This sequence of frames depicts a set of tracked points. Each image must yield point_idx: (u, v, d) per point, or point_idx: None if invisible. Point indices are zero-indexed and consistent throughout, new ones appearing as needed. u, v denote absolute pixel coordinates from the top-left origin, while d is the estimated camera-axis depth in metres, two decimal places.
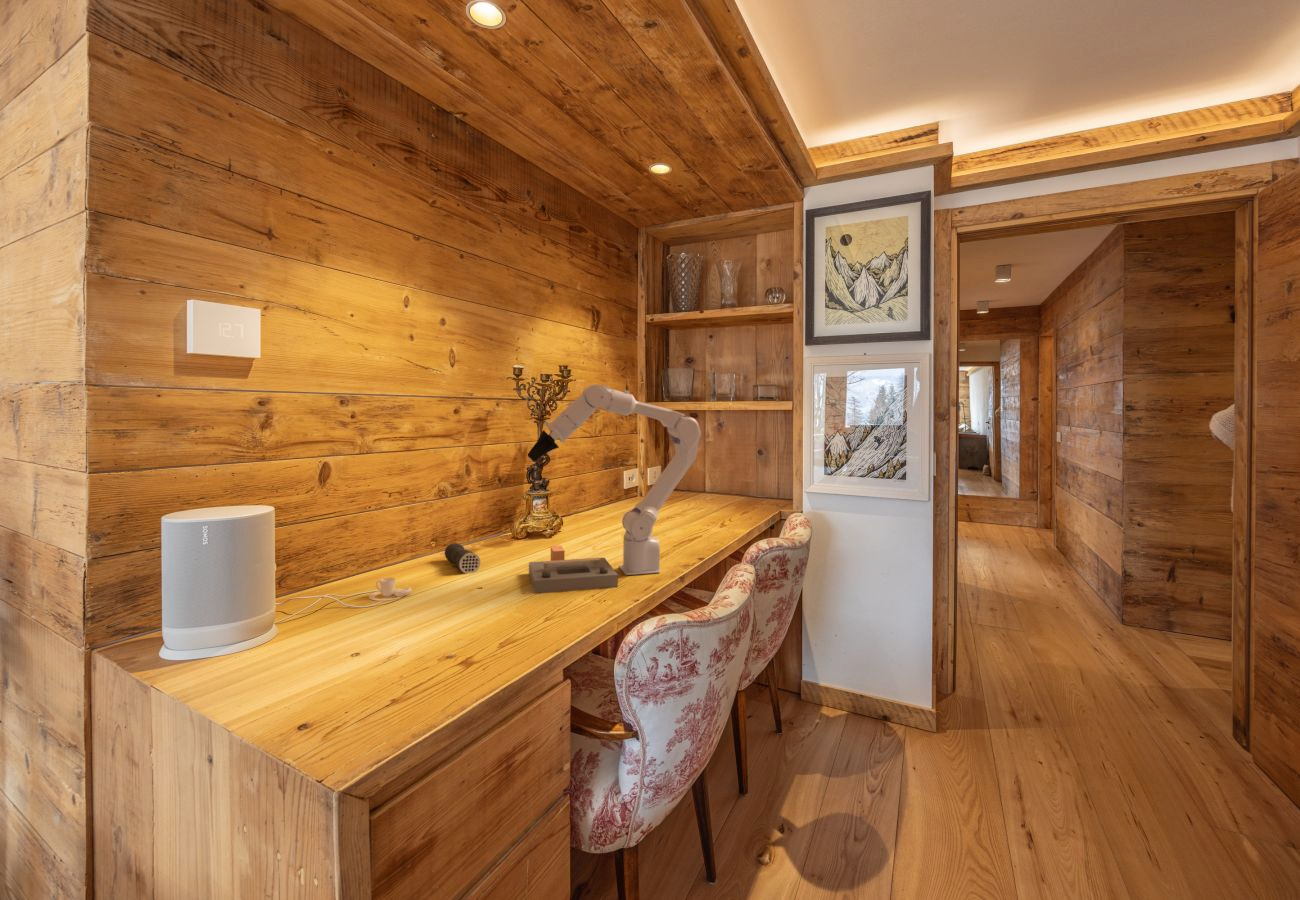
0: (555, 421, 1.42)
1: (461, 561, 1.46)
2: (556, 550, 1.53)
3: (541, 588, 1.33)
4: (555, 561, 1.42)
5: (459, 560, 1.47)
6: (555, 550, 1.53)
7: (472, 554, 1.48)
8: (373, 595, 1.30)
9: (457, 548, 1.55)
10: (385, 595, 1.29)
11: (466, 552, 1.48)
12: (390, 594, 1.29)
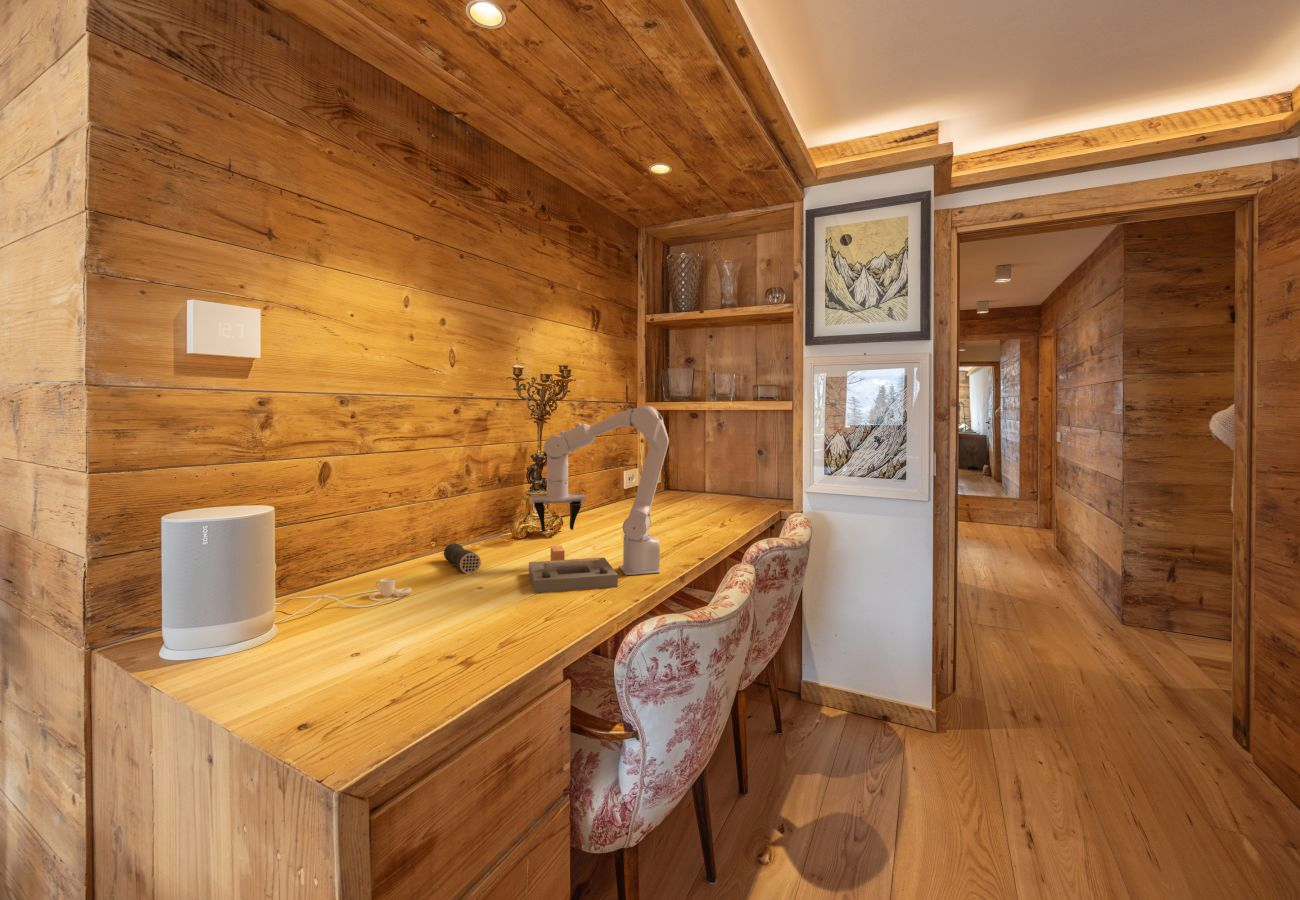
0: None
1: (462, 561, 1.46)
2: (556, 550, 1.53)
3: (541, 588, 1.33)
4: (555, 561, 1.42)
5: (460, 560, 1.47)
6: (555, 550, 1.53)
7: (472, 554, 1.48)
8: (373, 595, 1.29)
9: (457, 548, 1.55)
10: (385, 595, 1.29)
11: (466, 552, 1.48)
12: (390, 594, 1.29)
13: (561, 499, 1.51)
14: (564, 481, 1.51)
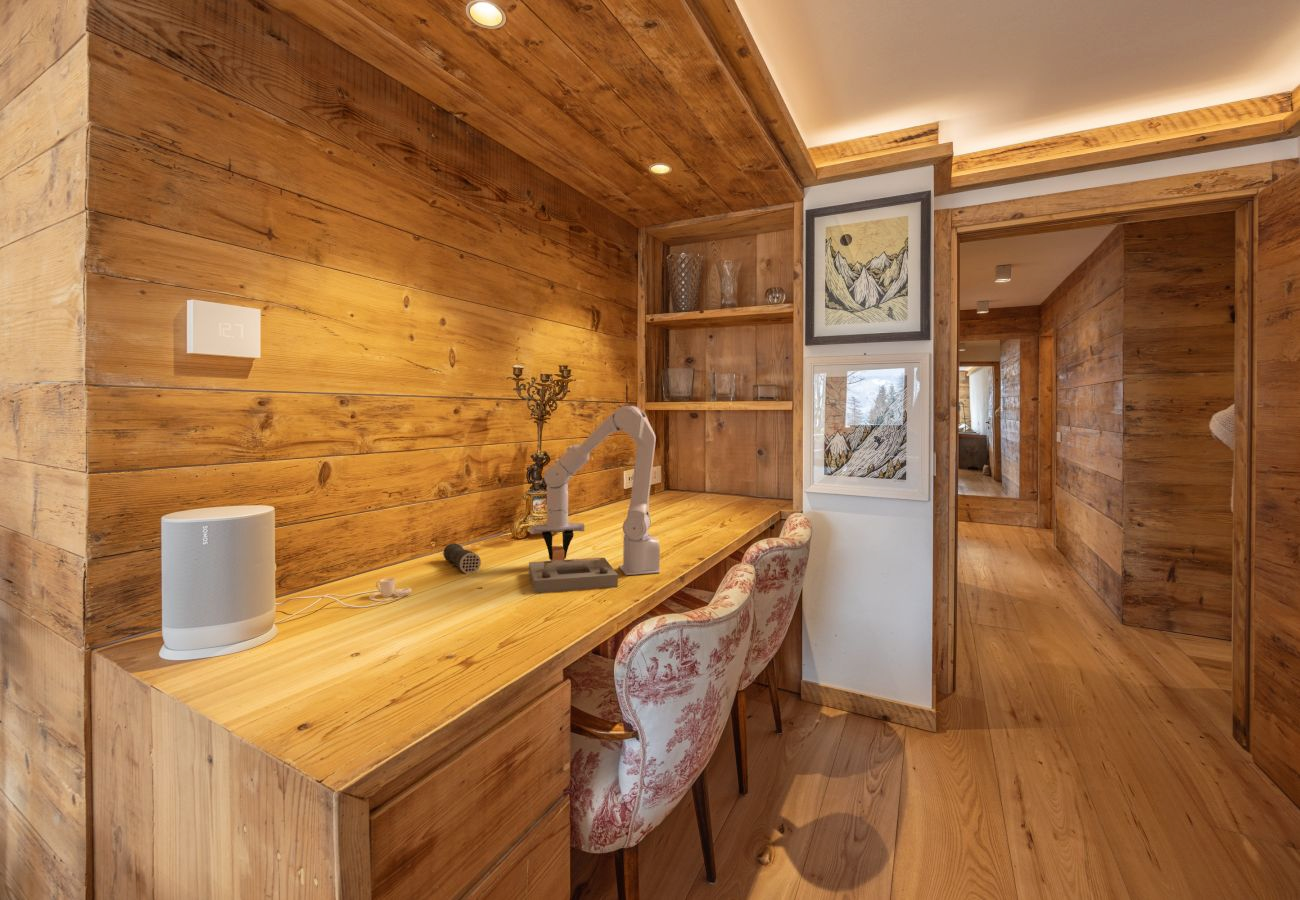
0: None
1: (462, 561, 1.46)
2: (556, 550, 1.53)
3: (541, 588, 1.33)
4: (555, 561, 1.42)
5: (460, 560, 1.47)
6: (555, 550, 1.53)
7: (472, 554, 1.48)
8: (373, 595, 1.29)
9: (456, 548, 1.55)
10: (385, 595, 1.29)
11: (466, 552, 1.48)
12: (390, 594, 1.29)
13: (561, 528, 1.52)
14: (564, 510, 1.52)
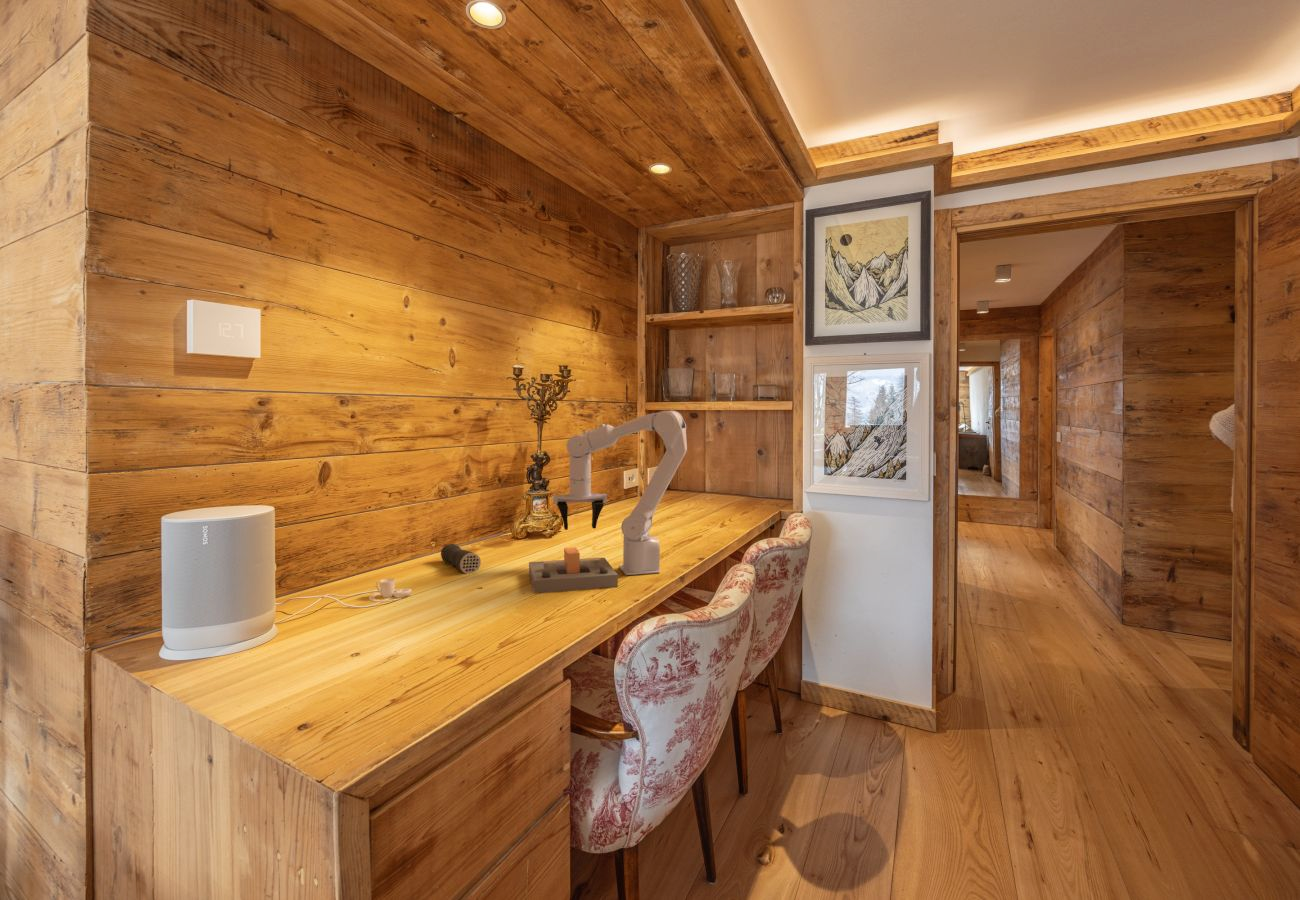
0: None
1: (462, 561, 1.46)
2: (570, 552, 1.41)
3: (541, 588, 1.33)
4: (555, 561, 1.42)
5: (460, 560, 1.47)
6: (569, 552, 1.41)
7: (473, 554, 1.48)
8: (373, 596, 1.29)
9: (455, 549, 1.54)
10: (385, 596, 1.28)
11: (466, 552, 1.48)
12: (390, 595, 1.29)
13: (584, 498, 1.52)
14: (587, 480, 1.52)
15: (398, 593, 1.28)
